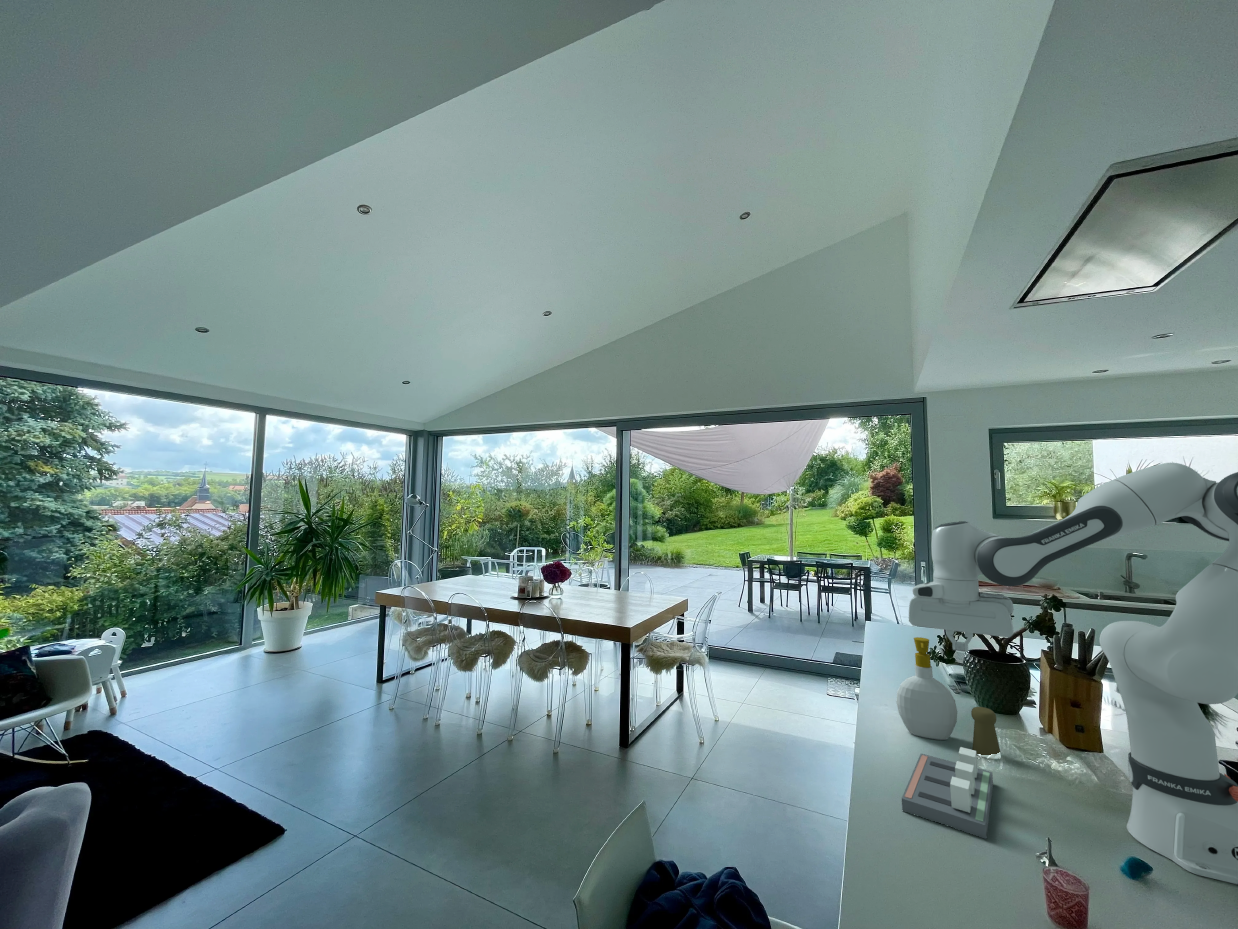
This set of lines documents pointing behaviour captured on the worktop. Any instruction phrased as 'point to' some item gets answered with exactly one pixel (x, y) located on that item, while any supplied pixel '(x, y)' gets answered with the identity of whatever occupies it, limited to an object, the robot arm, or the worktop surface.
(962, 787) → the switch
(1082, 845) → the worktop surface
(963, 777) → the switch
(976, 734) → the cork
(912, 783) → the switch board
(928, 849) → the worktop surface
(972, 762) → the switch
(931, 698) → the soap bottle
